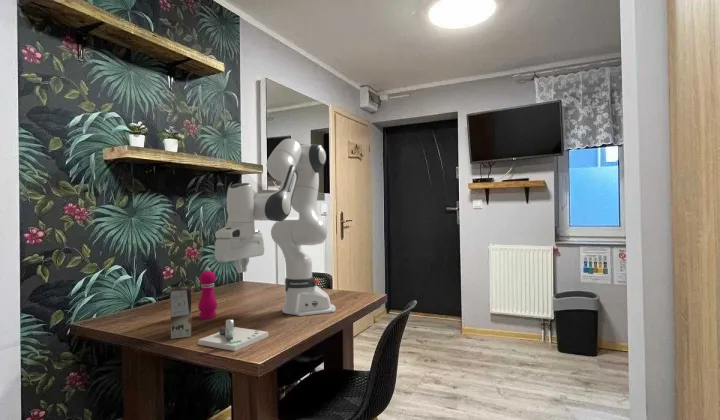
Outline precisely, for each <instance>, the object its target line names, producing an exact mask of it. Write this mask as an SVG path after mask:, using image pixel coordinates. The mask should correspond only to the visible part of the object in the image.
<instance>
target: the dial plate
mask: <svg viewBox="0 0 720 420" xmlns="http://www.w3.org/2000/svg"><path fill="white" fill-rule="evenodd" d="M267 337H269V331H263V330H257V329H251V328H245V327H243V328H242V327H236V326H234V337H233V340H226V337H225V335H220V334H219V331H218V332H216V333H213V334H210V335H207V336H205V337H201V338H200V339H197V342H198V343H197V344H198V345H200V346H206V347H212V348H217V349H221V350H228V351H233V352H236V351H239V350H240V349H241V350H242V349H243V348H245V347H247V346H250V345H252V344H255V343H256V342H259V341H260V340H264V339H266V338H267Z"/></svg>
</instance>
